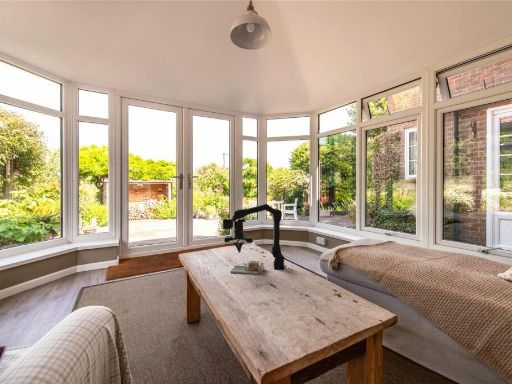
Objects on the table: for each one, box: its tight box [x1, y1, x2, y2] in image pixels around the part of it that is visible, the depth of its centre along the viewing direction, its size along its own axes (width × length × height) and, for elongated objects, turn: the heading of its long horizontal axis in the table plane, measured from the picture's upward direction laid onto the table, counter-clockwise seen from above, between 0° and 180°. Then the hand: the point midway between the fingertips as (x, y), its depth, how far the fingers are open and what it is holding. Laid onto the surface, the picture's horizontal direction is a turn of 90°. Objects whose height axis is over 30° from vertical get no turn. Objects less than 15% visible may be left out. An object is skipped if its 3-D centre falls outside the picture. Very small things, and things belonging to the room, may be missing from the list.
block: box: [247, 260, 260, 271], centre depth 156 cm, size 6×4×5 cm
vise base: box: [230, 262, 265, 275], centre depth 157 cm, size 20×10×4 cm, turn 78°
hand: (239, 252), depth 158 cm, fingers closed
